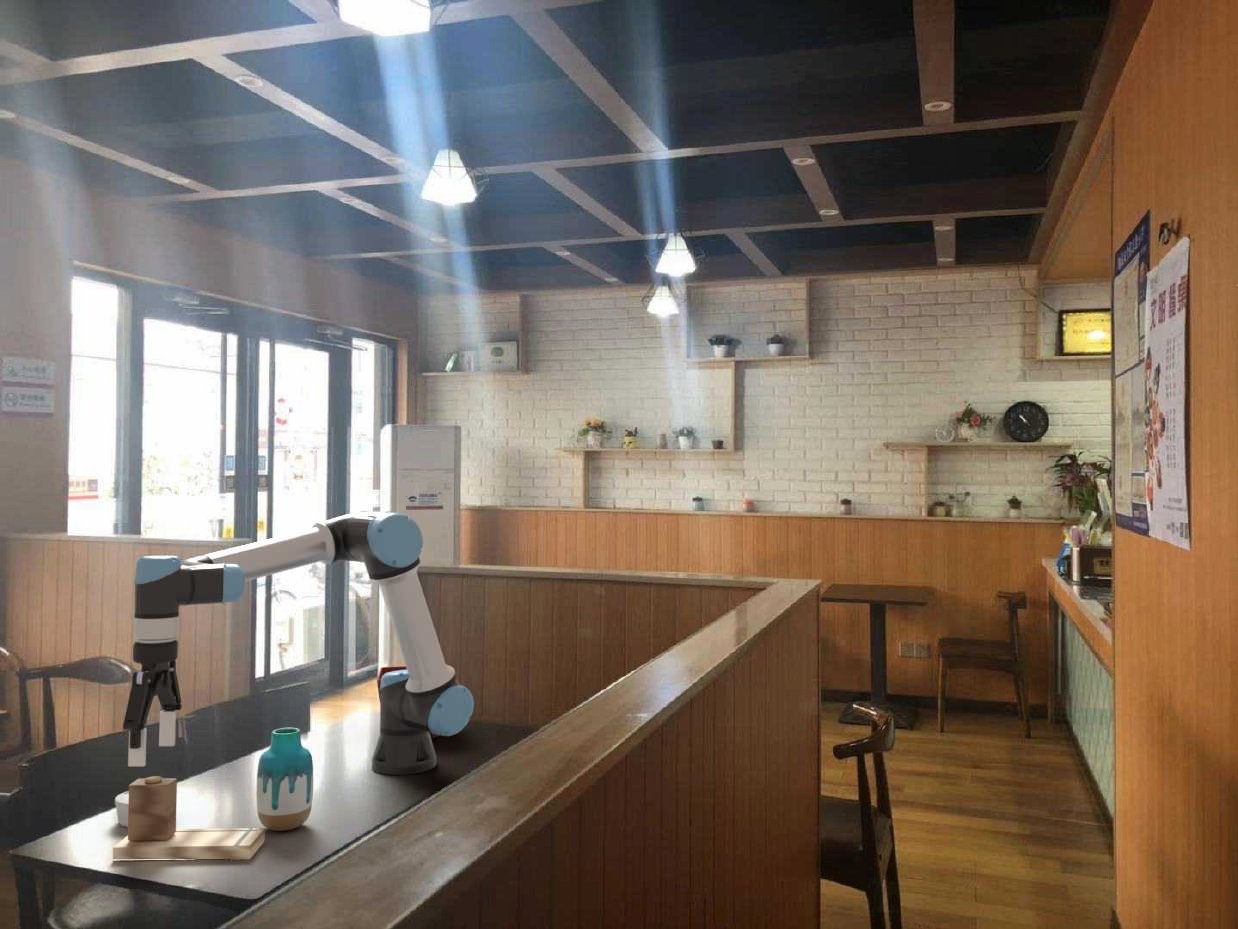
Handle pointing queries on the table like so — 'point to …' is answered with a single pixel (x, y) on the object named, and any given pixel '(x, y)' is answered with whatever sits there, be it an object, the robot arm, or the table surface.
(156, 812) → the tan boxy wooden piece
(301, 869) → the table surface
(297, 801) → the vase
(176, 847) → the board
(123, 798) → the ramekin
